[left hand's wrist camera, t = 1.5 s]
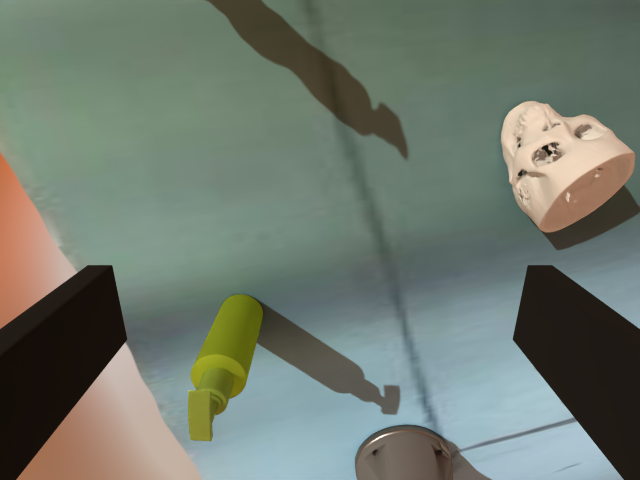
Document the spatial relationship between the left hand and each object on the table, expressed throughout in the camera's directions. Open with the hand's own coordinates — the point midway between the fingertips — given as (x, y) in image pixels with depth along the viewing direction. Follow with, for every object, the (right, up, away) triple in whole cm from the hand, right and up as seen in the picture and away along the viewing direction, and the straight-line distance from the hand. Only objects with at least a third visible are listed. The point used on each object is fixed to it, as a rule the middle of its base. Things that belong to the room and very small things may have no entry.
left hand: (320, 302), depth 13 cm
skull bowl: (+26, +11, +34) cm, 44 cm away
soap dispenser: (-11, -7, +41) cm, 43 cm away
